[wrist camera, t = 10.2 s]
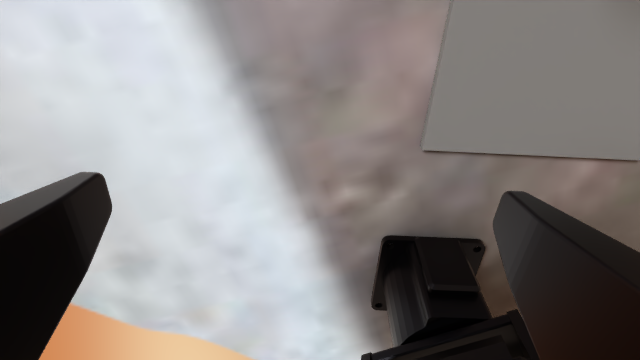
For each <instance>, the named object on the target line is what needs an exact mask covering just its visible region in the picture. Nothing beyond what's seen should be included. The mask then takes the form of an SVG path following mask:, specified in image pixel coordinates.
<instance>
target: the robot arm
mask: <svg viewBox="0 0 640 360" xmlns="http://www.w3.org/2000/svg"><path fill="white" fill-rule="evenodd" d="M111 212H112V202H111V199H110V195H109V191H108V188H107V184H106V181H105V178H104V176H103V175H102V174H100V173H96V172H80V173H77V174H75V175H72V176H70V177H67V178H65V179H62V180H60V181H57V182H55V183H52V184H50V185H47V186H45V187H42V188H40V189H37V190H35V191H32V192H30V193H27V194H25V195H22V196H20V197H17V198H15V199H12V200H10V201H7V202H5V203H2V204H0V360H39V358H40V356H41V354H42V353H43V350H44V349H45V347H46V345H47V344H48V342H49V340H50V338H51V336H52V335H53V333H54V331H55V329H56V327H57V326H58V324H59V322H60V320H61V318H62V316H63V315H64V313H65V311H66V309H67V307H68V306H69V304H70V302H71V300H72V298H73V297H74V295H75V293H76V291H77V289H78V287H79V286H80V284H81V282H82V280H83V278H84V276H85V274H86V272H87V271H88V268H89V266H90V264H91V262H92V259H93V257H94V254H95V252H96V250H97V247H98V245H99V242H100V240H101V237H102V235H103V232H104V230H105V228H106V225H107V223H108V220H109V218H110V215H111ZM493 230H494V234H495V238H496V241H497V245H498V248H499V252H500V255H501V259H502V262H503V266H504V269H505V273H506V276H507V279H508V282H509V285H510V288H511V291H512V293H513V296H514V298H515V301H516V303H517V306H518V308H519V310H520V313H521V315H522V317H521V315H520V313H519V312H518V310H517V309H516V310H512V311H509V312H507V314H505V315H502V316H499V317H495V318H492V316H491V313H490V311H489V309H488V306H487V304H486V302H485V300H484V297H483V295H482V293H481V291H480V286H479V283H478V281H477V279H476V277H475V276H476V273H477V271H478V268H479V265H480V262H481V260H482V257H483V254H484V251H485V246H484V244H483V242H482V241H481V240H479V239H461V238H437V237H413V236H386V237H384V238H383V239H382V241H381V247H380V252H379V258H378V264H377V270H376V275H375V281H374V287H373V292H372V298H371V304H372V308H373V309H375V310H386V311H387V313H388V319H389V324H390V330H391V336H392V342H393V348H390V349H387V350H383V351H380V352H377V353H373V354H372V353H367V354H364V355H362V357H361V360H640V253H639V252H638V251H636V250H634V249H632V248H630V247H628V246H626V245H624V244H622V243H621V242H619V241H617V240H615V239H613V238H611V237H609V236H607V235H605V234H604V233H602V232H600V231H598V230H596V229H594V228H592V227H590V226H588V225H587V224H585V223H583V222H581V221H579V220H577V219H575V218H573V217H572V216H570V215H568V214H566V213H564V212H562V211H560V210H558V209H556V208H555V207H553V206H551V205H549V204H547V203H545V202H543V201H541V200H539V199H538V198H536V197H534V196H532V195H530V194H528V193H526V192H523V191H506V192H505V193H504V194H503V195H502V197H501V200H500V203H499V206H498V208H497V211H496V214H495V217H494V220H493ZM388 243H392V244H390V245H388ZM477 246H478V247H477ZM475 247H477V248H475ZM522 318H523V319H522Z"/></svg>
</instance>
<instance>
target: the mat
mask: <svg viewBox="0 0 640 360" xmlns="http://www.w3.org/2000/svg"><path fill="white" fill-rule="evenodd" d="M420 147H421V149H422V150H430V151H451V152H472V153H493V154H514V155H535V156H557V157H578V158H599V159H620V160H640V0H450V4H449V9H448V14H447V19H446V24H445V29H444V33H443V38H442V43H441V48H440V53H439V57H438V62H437V67H436V72H435V77H434V81H433V86H432V91H431V96H430V101H429V105H428V110H427V115H426V120H425V125H424V129H423V134H422V139H421V144H420Z"/></svg>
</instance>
